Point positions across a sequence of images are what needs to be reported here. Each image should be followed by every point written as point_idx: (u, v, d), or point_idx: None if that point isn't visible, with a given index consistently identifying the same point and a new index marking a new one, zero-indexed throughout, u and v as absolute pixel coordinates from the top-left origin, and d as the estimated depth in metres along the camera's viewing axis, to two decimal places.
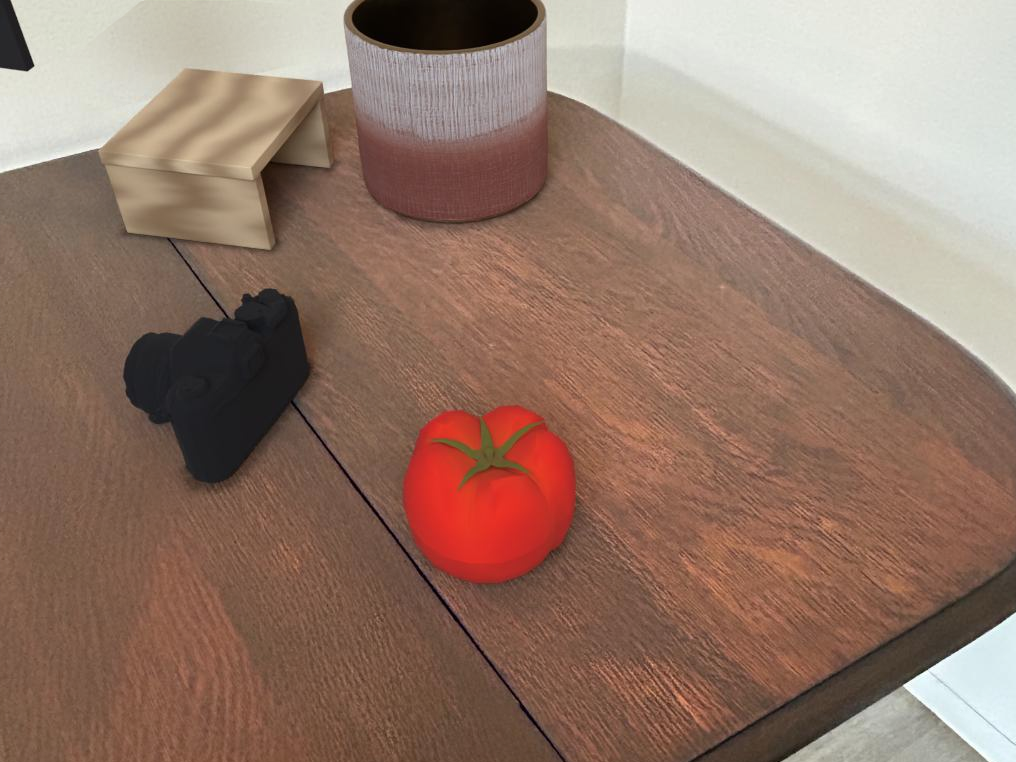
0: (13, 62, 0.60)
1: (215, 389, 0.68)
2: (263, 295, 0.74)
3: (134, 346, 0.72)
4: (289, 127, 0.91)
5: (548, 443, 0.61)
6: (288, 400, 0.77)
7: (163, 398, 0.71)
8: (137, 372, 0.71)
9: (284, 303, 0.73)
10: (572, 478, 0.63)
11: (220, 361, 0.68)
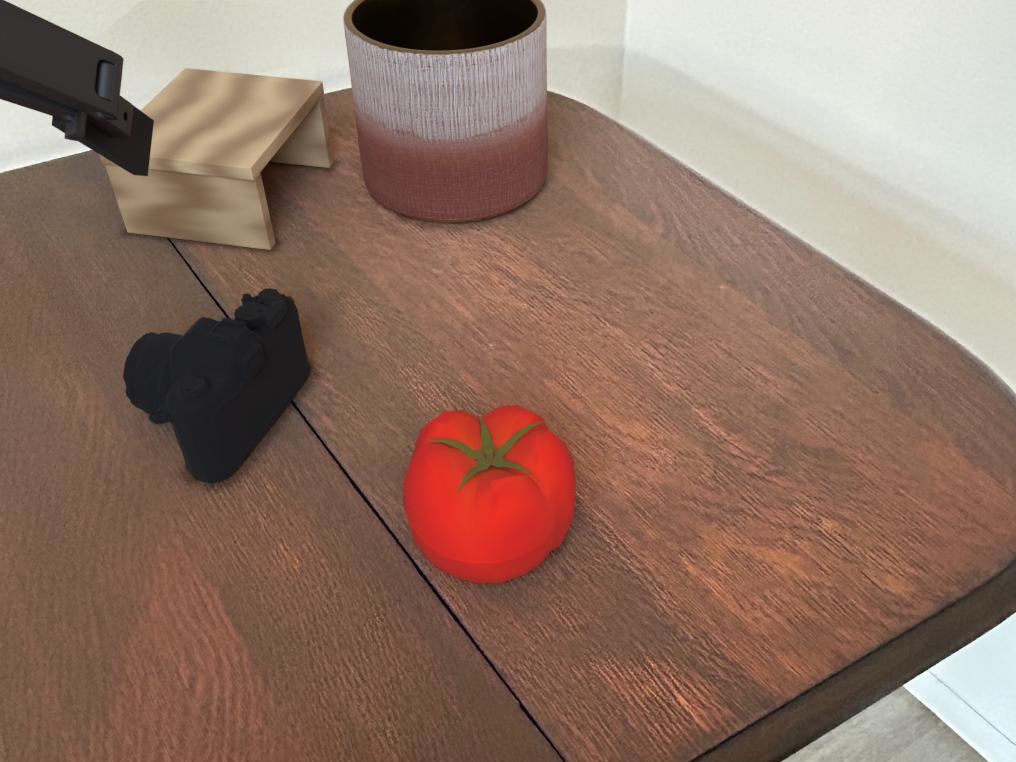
0: None
1: (216, 389, 0.68)
2: (263, 295, 0.74)
3: (134, 346, 0.72)
4: (289, 127, 0.91)
5: (548, 443, 0.61)
6: (288, 400, 0.77)
7: (163, 398, 0.71)
8: (137, 372, 0.71)
9: (284, 303, 0.73)
10: (572, 478, 0.63)
11: (220, 361, 0.68)
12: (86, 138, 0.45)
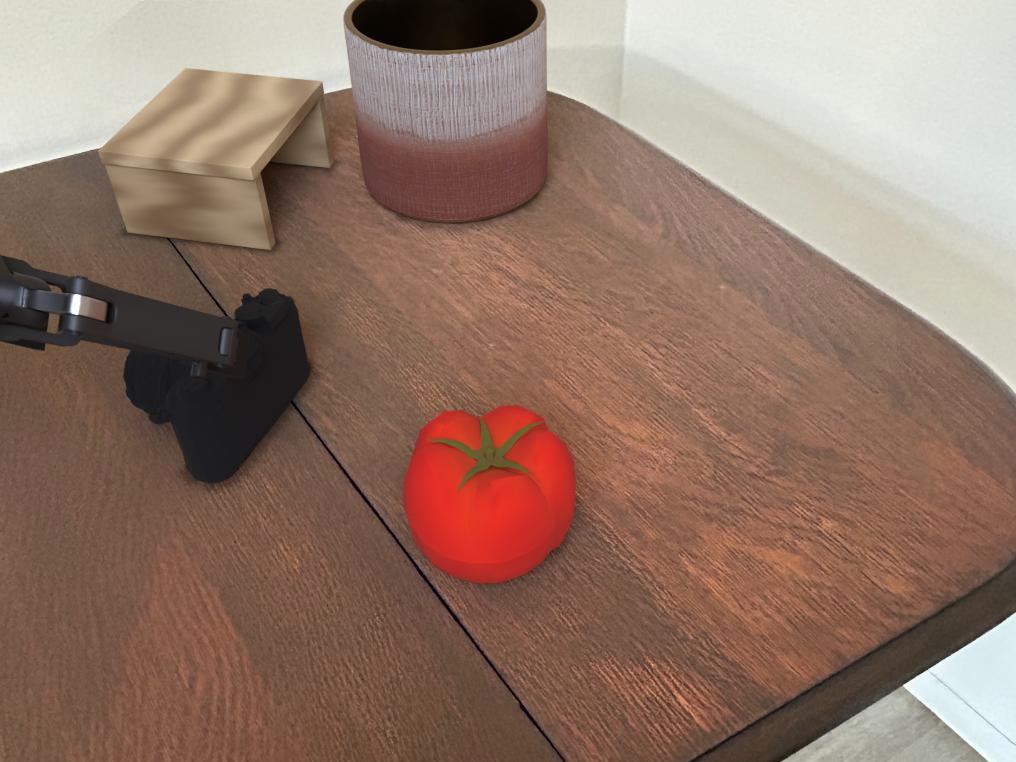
0: None
1: (216, 389, 0.68)
2: (263, 295, 0.74)
3: None
4: (289, 127, 0.91)
5: (548, 443, 0.61)
6: (288, 400, 0.77)
7: (163, 398, 0.71)
8: (137, 372, 0.71)
9: (284, 303, 0.73)
10: (572, 478, 0.63)
11: None
12: None
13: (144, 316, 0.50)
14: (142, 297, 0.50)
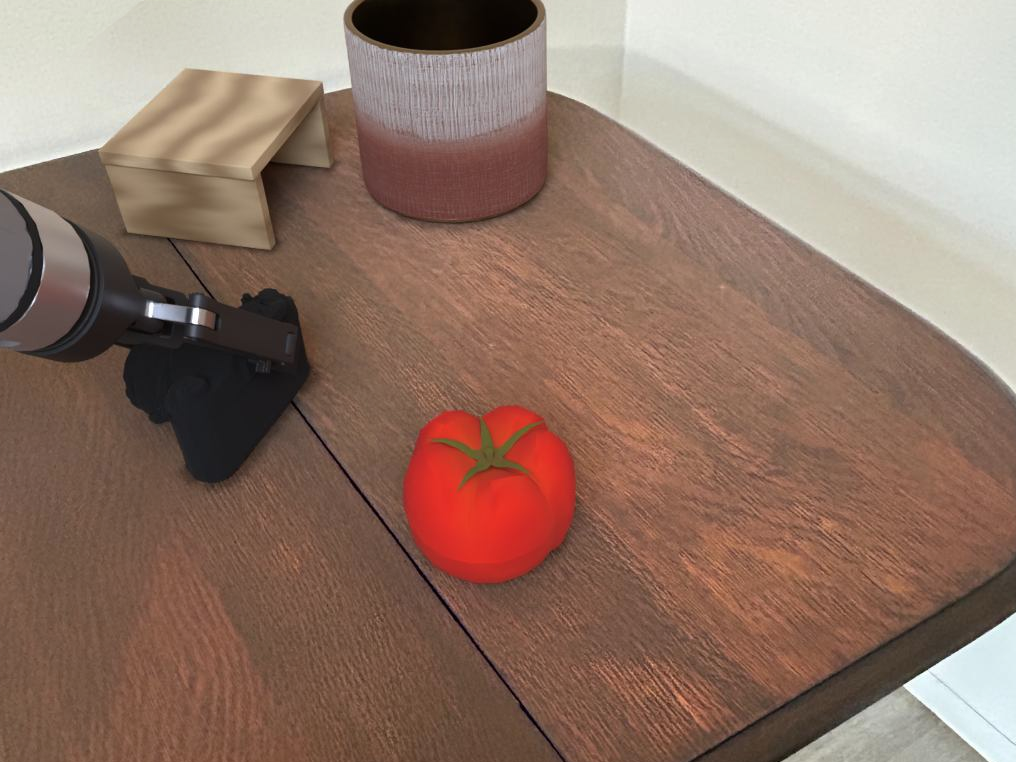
0: None
1: (215, 389, 0.68)
2: (263, 295, 0.74)
3: (134, 346, 0.72)
4: (289, 127, 0.91)
5: (548, 443, 0.61)
6: (288, 399, 0.77)
7: (163, 398, 0.71)
8: (137, 372, 0.71)
9: (284, 303, 0.73)
10: (572, 478, 0.63)
11: (220, 361, 0.68)
12: None
13: (238, 324, 0.61)
14: (237, 309, 0.61)
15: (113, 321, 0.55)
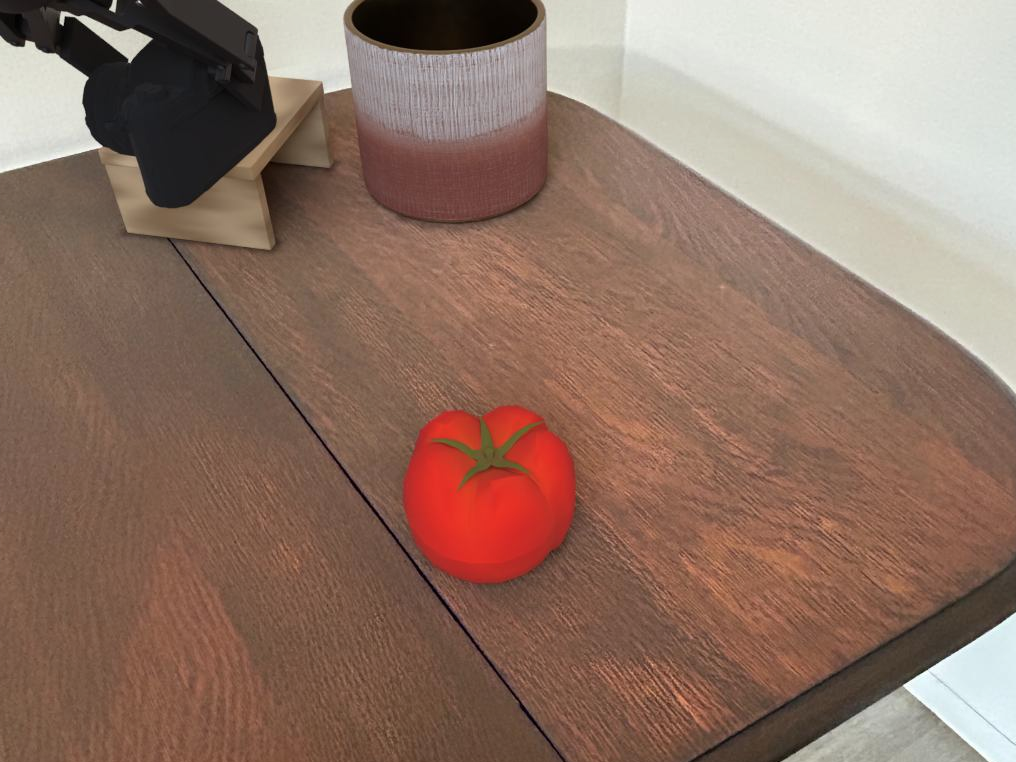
0: None
1: (174, 97, 0.66)
2: None
3: (94, 71, 0.70)
4: (289, 127, 0.91)
5: (548, 443, 0.61)
6: (253, 143, 0.75)
7: None
8: (96, 95, 0.70)
9: None
10: (572, 478, 0.63)
11: (180, 73, 0.67)
12: (227, 82, 0.68)
13: (193, 1, 0.60)
14: None
15: None
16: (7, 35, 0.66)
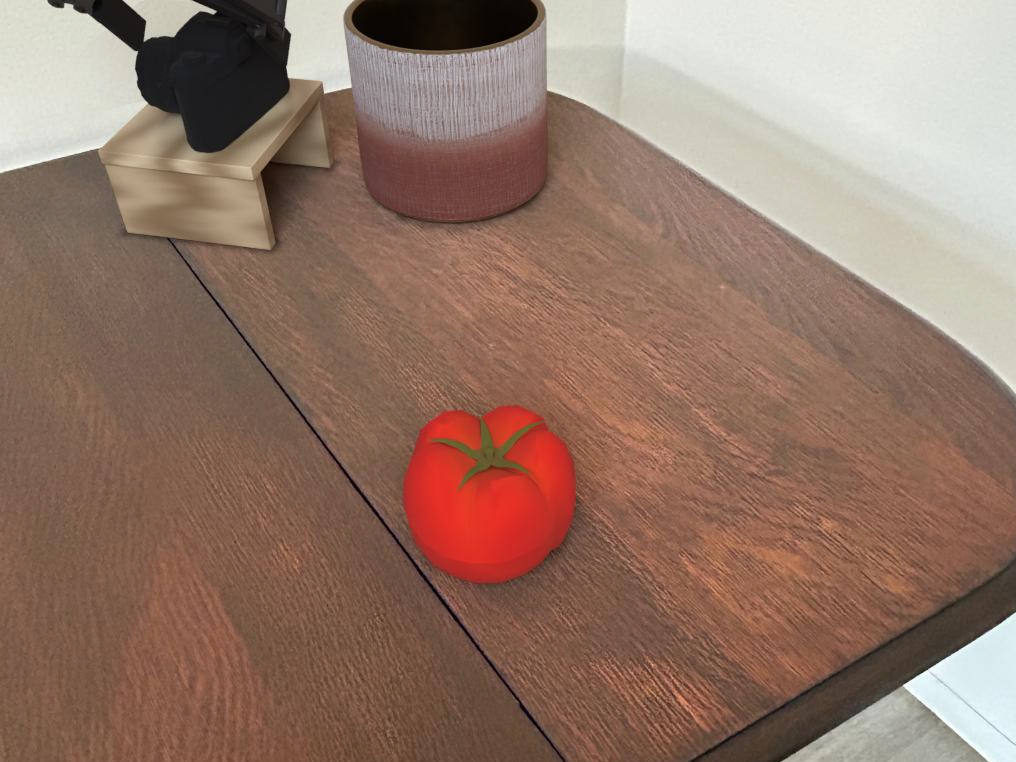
0: None
1: (211, 62, 0.83)
2: None
3: (144, 43, 0.88)
4: (289, 127, 0.91)
5: (548, 443, 0.61)
6: (272, 103, 0.92)
7: None
8: (146, 62, 0.87)
9: None
10: (572, 478, 0.63)
11: (215, 43, 0.84)
12: (262, 39, 0.83)
13: None
14: None
15: None
16: None
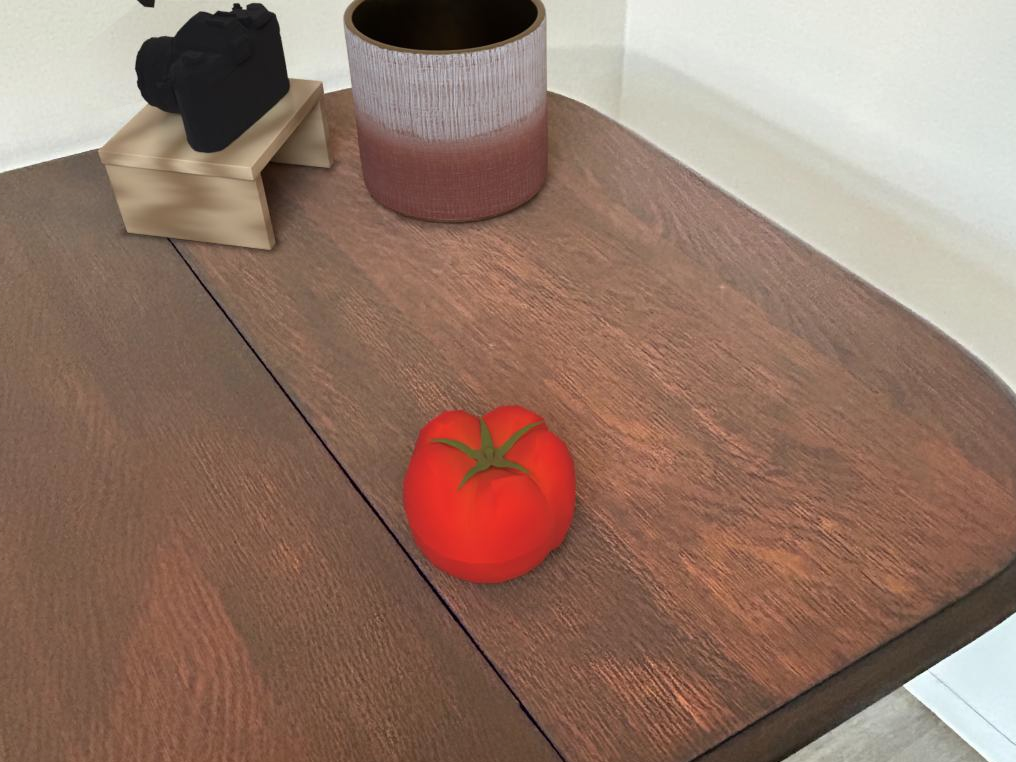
0: None
1: (211, 62, 0.83)
2: (250, 6, 0.89)
3: (144, 43, 0.88)
4: (289, 127, 0.91)
5: (548, 443, 0.61)
6: (272, 103, 0.92)
7: None
8: (146, 62, 0.87)
9: (267, 10, 0.88)
10: (572, 478, 0.63)
11: (215, 43, 0.84)
12: None
13: None
14: None
15: None
16: None
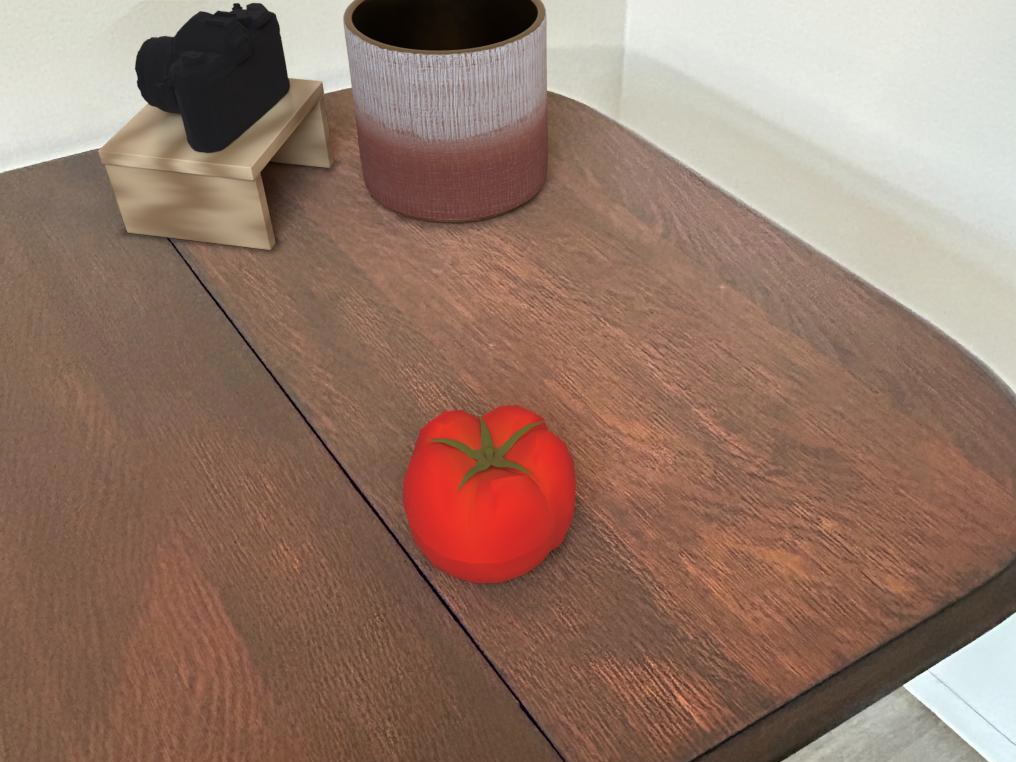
0: None
1: (211, 62, 0.83)
2: (250, 6, 0.89)
3: (144, 43, 0.88)
4: (289, 127, 0.91)
5: (548, 443, 0.61)
6: (272, 103, 0.92)
7: None
8: (146, 62, 0.87)
9: (267, 10, 0.88)
10: (572, 478, 0.63)
11: (215, 43, 0.84)
12: None
13: None
14: None
15: None
16: None
